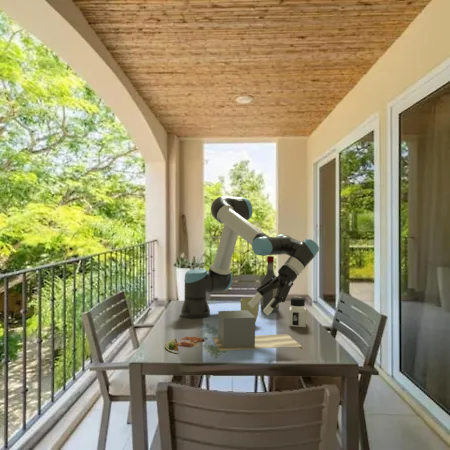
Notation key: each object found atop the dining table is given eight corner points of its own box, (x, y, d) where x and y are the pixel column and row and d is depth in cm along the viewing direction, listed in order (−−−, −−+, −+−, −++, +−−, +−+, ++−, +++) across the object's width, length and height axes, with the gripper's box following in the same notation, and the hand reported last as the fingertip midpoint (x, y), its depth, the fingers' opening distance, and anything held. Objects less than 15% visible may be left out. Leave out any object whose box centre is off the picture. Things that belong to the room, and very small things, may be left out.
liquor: (259, 311, 208) (260, 256, 208) (263, 307, 216) (264, 255, 216) (276, 312, 204) (276, 257, 204) (279, 309, 213) (280, 256, 213)
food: (217, 352, 141) (217, 344, 141) (171, 359, 135) (171, 350, 135) (203, 338, 158) (203, 330, 158) (162, 343, 152) (162, 335, 152)
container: (305, 327, 176) (306, 299, 176) (288, 326, 178) (289, 298, 178) (305, 323, 184) (305, 296, 184) (289, 322, 185) (289, 295, 185)
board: (212, 341, 154) (212, 337, 154) (287, 337, 160) (287, 334, 160) (219, 354, 138) (219, 350, 138) (301, 350, 144) (301, 346, 144)
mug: (264, 324, 180) (264, 299, 180) (250, 328, 173) (251, 302, 173) (246, 320, 188) (246, 296, 188) (233, 324, 180) (233, 298, 180)
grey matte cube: (218, 338, 152) (218, 311, 152) (247, 337, 154) (247, 310, 154) (223, 348, 140) (223, 318, 140) (254, 346, 143) (255, 317, 143)
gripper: (313, 280, 145) (278, 323, 139) (281, 272, 168) (250, 309, 163) (301, 267, 143) (265, 310, 137) (270, 261, 166) (238, 297, 161)
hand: (257, 309), depth 150 cm, fingers open, 13 cm apart
